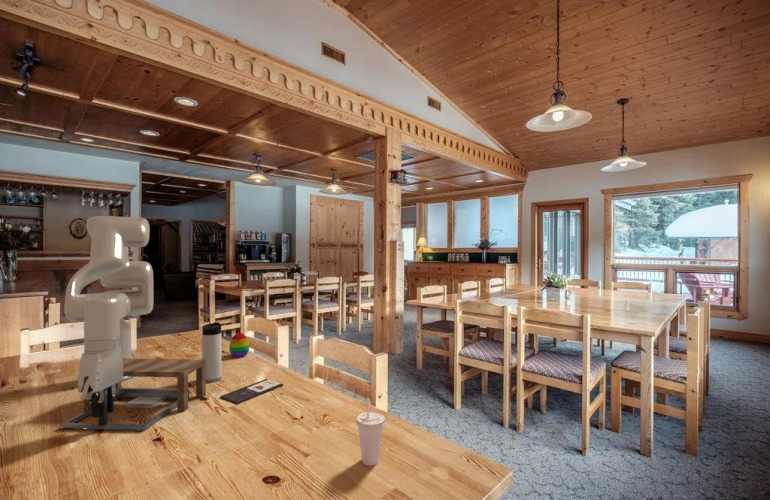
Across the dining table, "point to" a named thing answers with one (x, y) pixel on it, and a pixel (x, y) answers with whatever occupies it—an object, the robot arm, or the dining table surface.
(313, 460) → the dining table surface
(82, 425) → the grey metal frame
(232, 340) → the decorative egg
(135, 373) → the small wooden bench
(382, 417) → the smoothie
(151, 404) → the pale grey flat block
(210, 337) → the travel mug
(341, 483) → the dining table surface
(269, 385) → the chocolate bar
